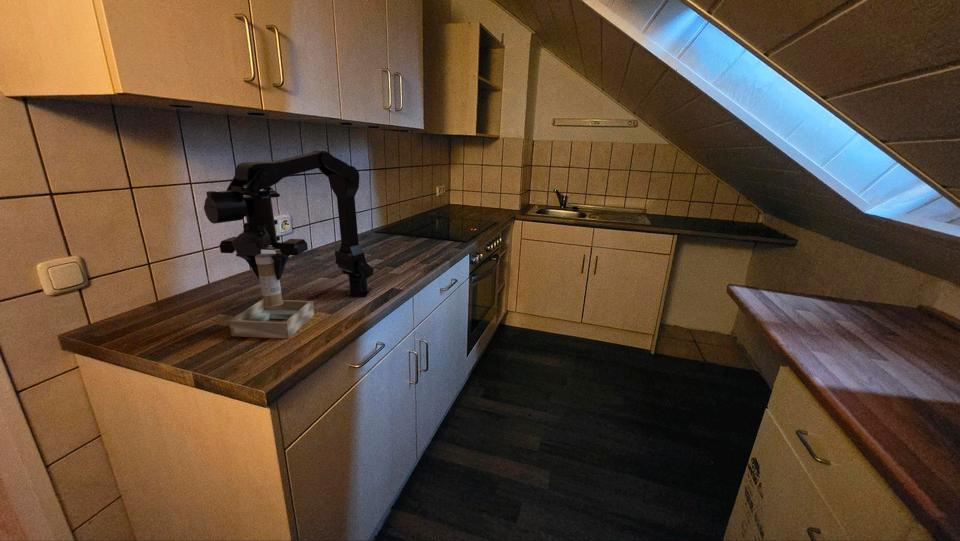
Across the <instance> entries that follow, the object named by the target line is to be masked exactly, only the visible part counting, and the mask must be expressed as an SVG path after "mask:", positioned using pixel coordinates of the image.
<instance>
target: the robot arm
mask: <svg viewBox="0 0 960 541" xmlns="http://www.w3.org/2000/svg"><path fill="white" fill-rule="evenodd" d="M315 169H318V170H319V171H320V173H321V174H323V175H324V176H326V177H327V178H328V183H329V186H330V189H332V192H333V193H334V195H335V198H336V200H337V201H336V203H337V211H338V223H339V231H340V232H339V234H340V241H341V244H340V246H339V249H338V250H335V251H334V257H335V262H334V263H335V264H337V267H338V268H339V269H340V270H341V273H342V274H343V275H346V276H348V287H349V290H348V291H347V293H346V294H345V296H346V297H364V298H365V297H367V296H368V295H369V294H370V292H372V289H373V288H372V287H369V282H368V279H369V278H371V277H372V276H373V275H374V270H375V269H374V267H372V266H371V265H369V263H367V260H366V254H365V252H364V250H363V249H362V247H361V245H360V243H359V234H358V232H359V231H358V223H357V222H358V221H357V220H358V219H357V208H356V195H357V192H358V190H359V188H360V172H359V170H358V169H357V168H356V167H355V166H353V165H349V164H348V163H346V162H345V161H343V160H340V159H339V158H338V157H336V156H334V155H332V154H331V153H330V152H328V151H325V150H313V151H311V152H306V153H303V154H299V155H295V156H290V157H286V158H282V159H278V160H273V161H247V162H246V161H243V162H241V163H238V164H237V165H236V167H235V169H234V176H233V178H232V180H231V181H230V182H229V185H228V186H227V189H226V190H222V191H215V190H210V191H206V192H205V193H206V198H205V200H204V205H203V210H204V213H205V216H206V218H207V220H208V221H209V222H210V223H211V224H213V225H214V224H222V223H230V222H236V221H243V219H246V222H244V223H243V227H242V229H243V231H242V233H239V234H238V235H237V236H232V237H229V238H226V239H224V240H221V242H220V244H218V246H219V251H220V254H233V253H235V252H236V253H235V257H239V258H241V259H243V260H245V262H246V263H248V265H249V267H250V268H251V270H252V271H253V273H254V275H255V276H256V277H257V279H258V280H259V272H258V267H257V264H256V260H255V256H256V255H258V254H262V250H265V251H266V250H268V251H269V250H271V251H274V252H275V254H274V255H272V256H271V258H272V259H273V260H274V264H275V273H276V278H277V280H281V278H282V276H283V273H284V270H285V267H286V264H287V262H288V260H289V258H290V256H291V257H292V256H294V257H295V256H299V255H302V253H304V252H306V251H308V250H309V248H308V242H307V241H306V240H305V238H304V239H302V238H289V239H287V240H285V241H282V242H279V241H281V238H280V235H277V230H276V225H278V224H279V223H278V219H275V217H274V215H275V214H274V210H273V202H272V199H274V198H279V197H280V196H281V194H280V193H279V192H278V191H275V189H273V187H272V186H275V185H277V184H278V183H279V182H281V181H282V180H283V179H284V178H287V177H290V176H294V175H297V174H301V173H304V172H309V171H313V170H315Z"/></svg>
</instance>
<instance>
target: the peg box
mask: <svg viewBox="0 0 960 541" xmlns="http://www.w3.org/2000/svg"><path fill="white" fill-rule="evenodd" d="M282 300H283V304H282V305H280V306H278V307H274V308H267V307H265V306H264V301H263V298H262V299H260V300H259V301H257V302H256V303H254V304H253V305H251V306H250V307H248V308H247V309H245V310H244V311H242V312H241V313H239V314H238V315H236V316H235V317H233V318H232V319H230V320H229V321H228V322H229V328H230V334H231V337H242V338H243V337H245V338H247V337H248V338H264V339H265V338H266V339H267V338H269V339H290V338H291V337H292V336H293V335H294V334H296V332H297V331H299V330H300V329H301V328H302V327H303V326H304V325H305V324H306V323H308V321H309V320H310V319H311V318H312V317H313V316H314V315H315V309H314V308H315V307H314V301H313V300H295V299H294V300H292V299H282ZM271 319H272V320H273V319H274V320H275V319H276V320H285V321H270V320H271Z"/></svg>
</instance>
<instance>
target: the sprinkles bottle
mask: <svg viewBox="0 0 960 541" xmlns="http://www.w3.org/2000/svg"><path fill="white" fill-rule="evenodd" d="M274 254H276V252H275V253H274V252H263V253H262V252H261V254H258V255H256V256H255V260H256V264H257V267H258V272H259V279H258V280H259V285H260V291H261V294H262V299H263V301H264V306H265V307H267V308H274V307H278V306H280V305H282V304H283V300H284V299H283V294H282V288H281V282H280V280H281V279H280V280H277V278H276V273H275V264H274V260H273V259H272V258H271V256H272V255H274Z"/></svg>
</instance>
